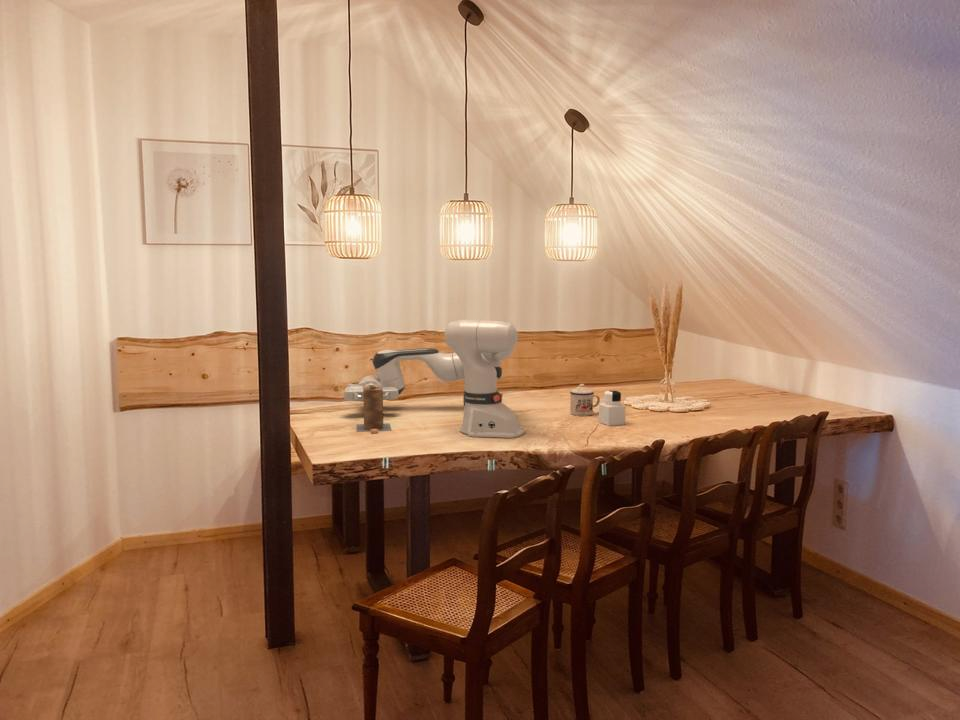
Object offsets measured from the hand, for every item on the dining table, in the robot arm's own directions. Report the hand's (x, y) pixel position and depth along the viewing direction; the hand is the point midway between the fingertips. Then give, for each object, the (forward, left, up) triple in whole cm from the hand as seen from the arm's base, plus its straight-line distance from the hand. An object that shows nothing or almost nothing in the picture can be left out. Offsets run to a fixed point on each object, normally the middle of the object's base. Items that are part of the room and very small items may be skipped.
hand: (371, 397), depth 300 cm
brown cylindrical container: (-6, +11, -9) cm, 15 cm away
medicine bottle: (-84, -26, -9) cm, 89 cm away
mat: (-6, +11, -9) cm, 15 cm away
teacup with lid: (-71, -40, -9) cm, 82 cm away
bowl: (-10, +18, -9) cm, 23 cm away
